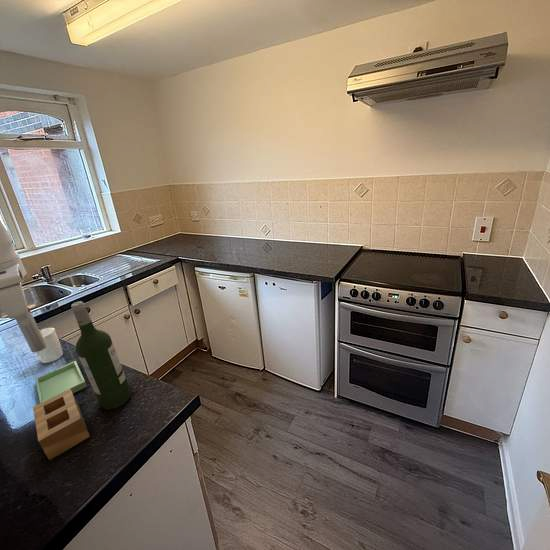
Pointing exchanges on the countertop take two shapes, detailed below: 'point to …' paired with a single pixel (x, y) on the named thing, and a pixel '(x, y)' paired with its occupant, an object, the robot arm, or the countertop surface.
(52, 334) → the white cup
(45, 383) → the tray
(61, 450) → the holder
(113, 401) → the wine bottle
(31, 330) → the canister
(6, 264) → the robot arm
